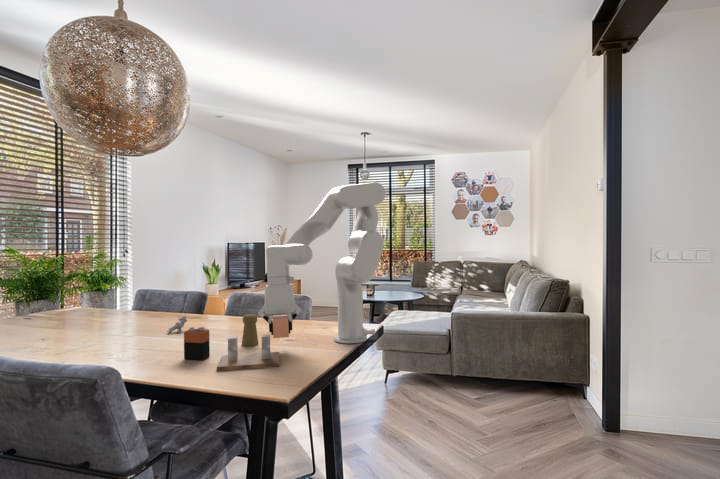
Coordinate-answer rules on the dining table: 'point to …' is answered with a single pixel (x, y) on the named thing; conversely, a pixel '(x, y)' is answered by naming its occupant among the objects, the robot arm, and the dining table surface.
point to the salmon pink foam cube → (280, 326)
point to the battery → (196, 344)
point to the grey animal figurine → (178, 324)
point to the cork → (250, 331)
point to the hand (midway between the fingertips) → (280, 332)
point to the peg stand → (248, 357)
